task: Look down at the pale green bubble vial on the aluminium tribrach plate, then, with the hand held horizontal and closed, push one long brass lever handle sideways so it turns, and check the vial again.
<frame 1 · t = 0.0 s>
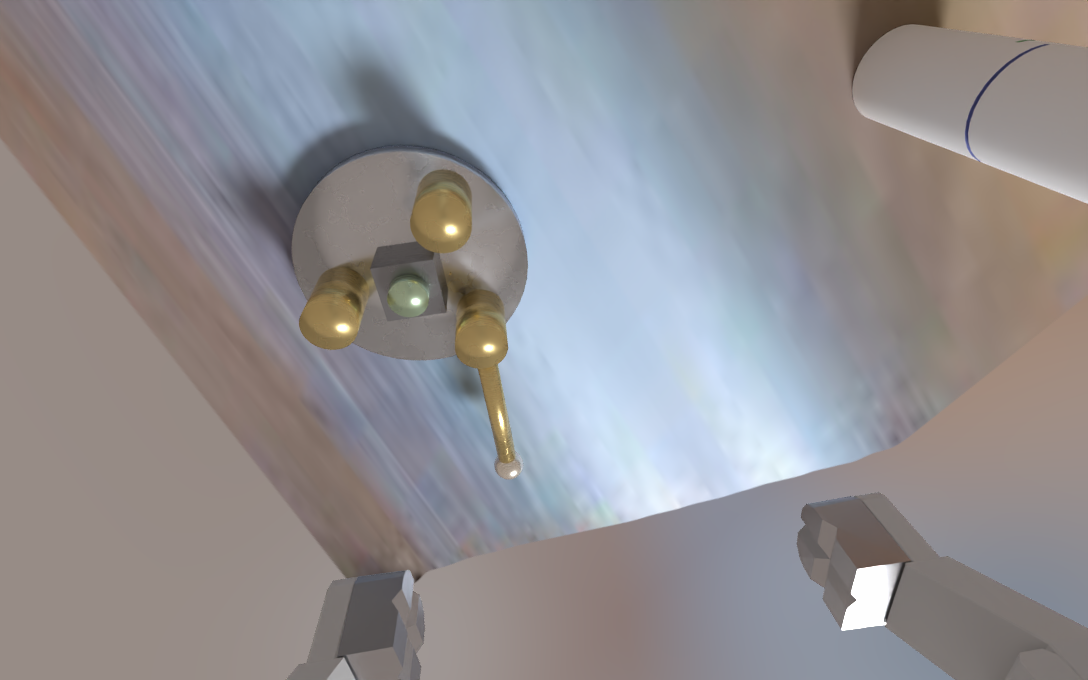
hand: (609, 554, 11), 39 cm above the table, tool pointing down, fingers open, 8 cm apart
cylindrical container: (894, 74, 44), on the table
brass lever handle: (495, 395, 52), point 5 cm above the table, hinge at 0.0°
tribrach: (415, 258, 49), on the table
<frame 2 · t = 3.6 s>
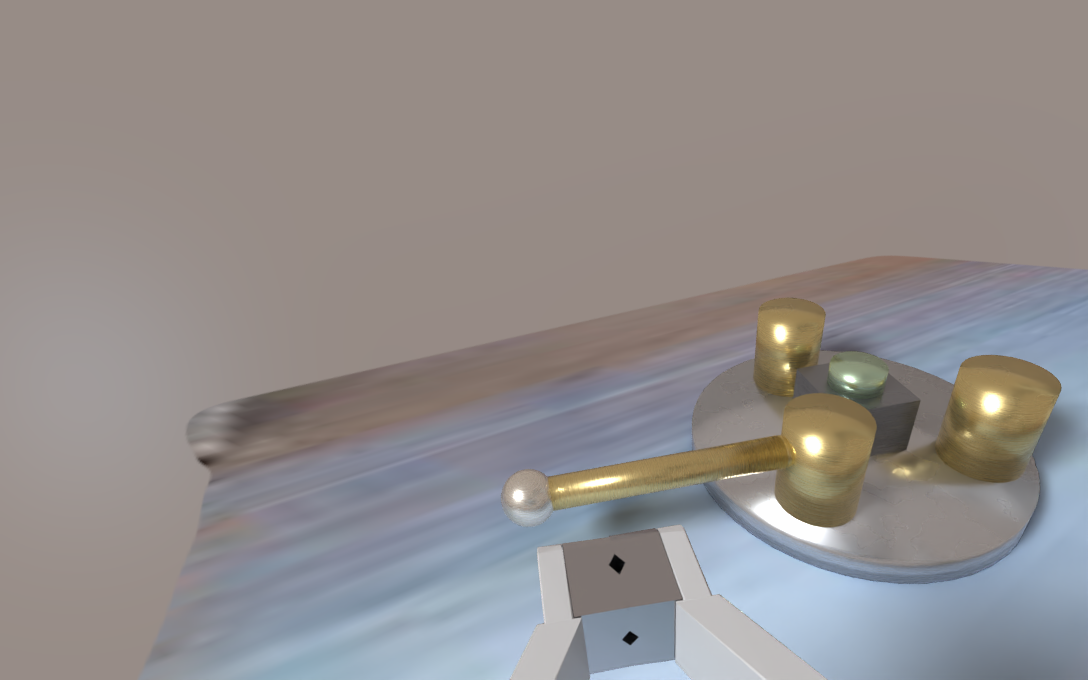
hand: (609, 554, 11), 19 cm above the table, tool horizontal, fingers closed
brass lever handle: (684, 484, 30), point 5 cm above the table, hinge at 0.0°
tribrach: (840, 453, 37), on the table
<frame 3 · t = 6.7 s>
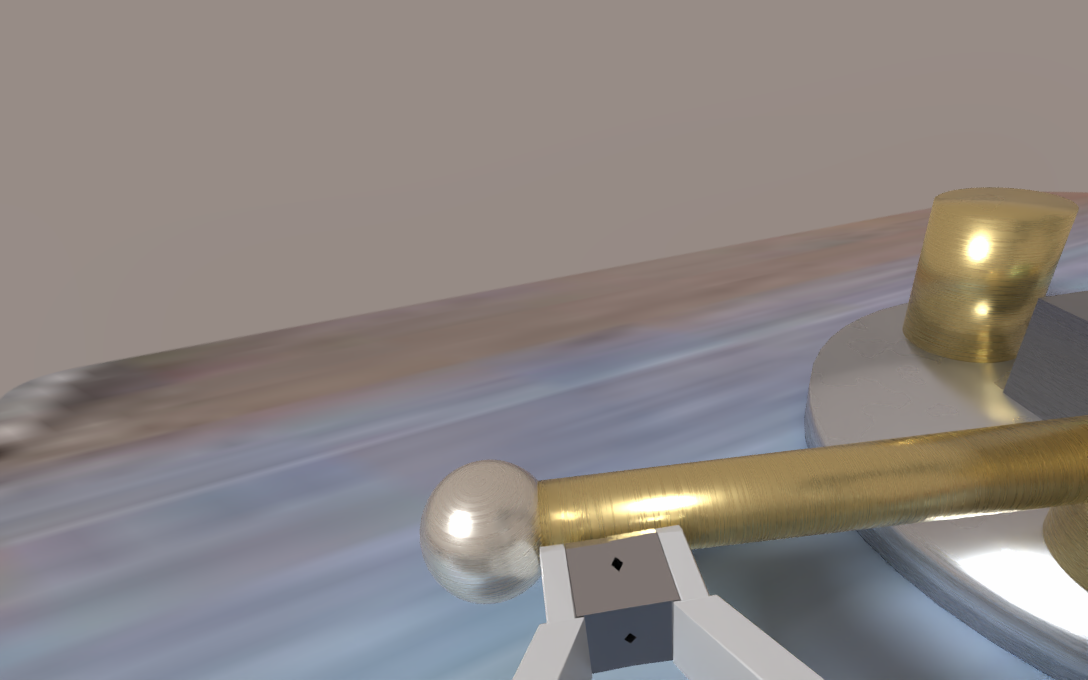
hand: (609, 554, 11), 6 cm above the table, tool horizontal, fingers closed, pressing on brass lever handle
brass lever handle: (867, 520, 12), point 5 cm above the table, hinge at 2.7°, touching gripper
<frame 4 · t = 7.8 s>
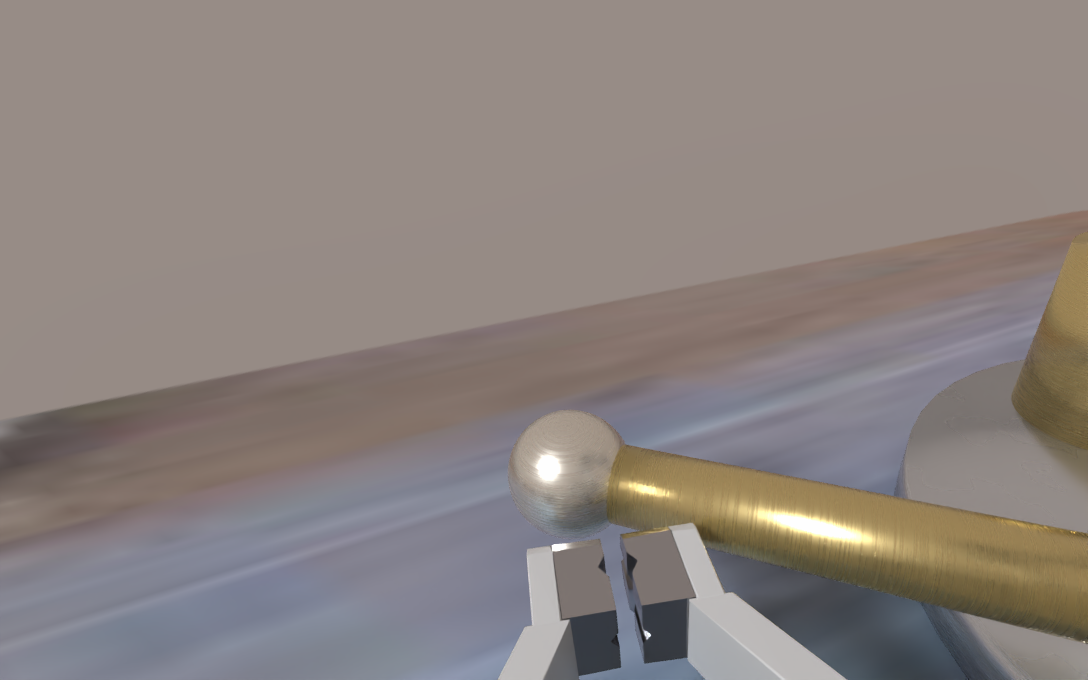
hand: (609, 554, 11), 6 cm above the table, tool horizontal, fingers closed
brass lever handle: (1001, 613, 10), point 5 cm above the table, hinge at 28.8°, touching gripper
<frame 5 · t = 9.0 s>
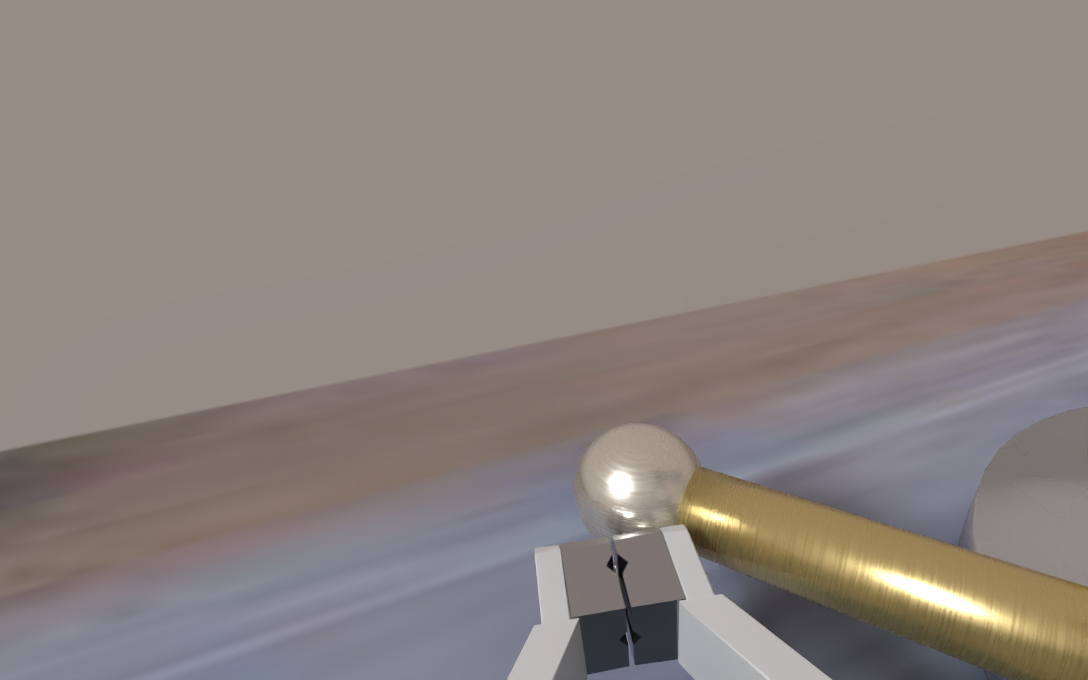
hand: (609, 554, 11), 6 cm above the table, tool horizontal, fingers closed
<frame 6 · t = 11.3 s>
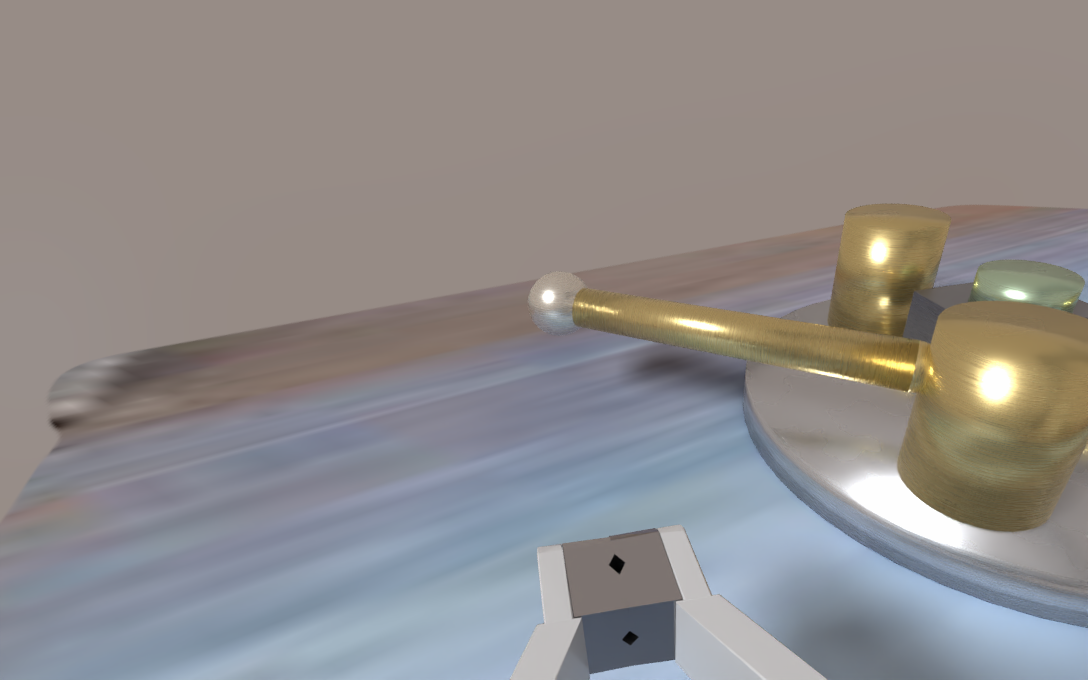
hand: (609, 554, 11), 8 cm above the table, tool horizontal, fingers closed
brass lever handle: (745, 362, 22), point 5 cm above the table, hinge at 38.1°
tribrach: (974, 424, 25), on the table
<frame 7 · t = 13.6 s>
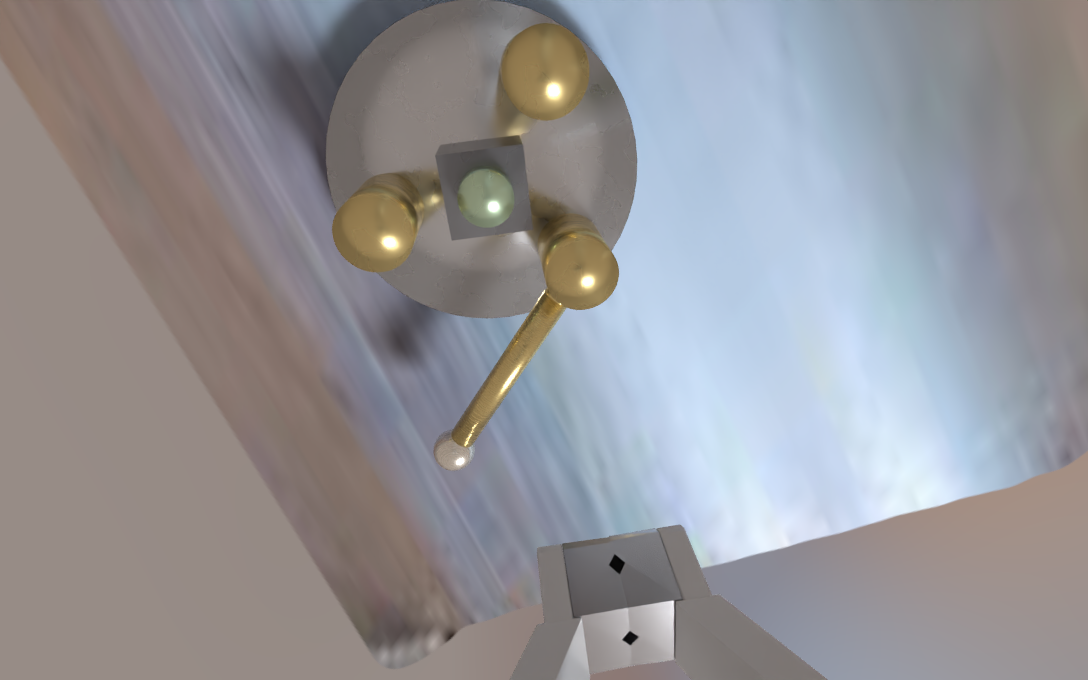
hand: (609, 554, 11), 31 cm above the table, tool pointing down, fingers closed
brass lever handle: (513, 352, 38), point 5 cm above the table, hinge at 38.1°
tribrach: (486, 173, 37), on the table
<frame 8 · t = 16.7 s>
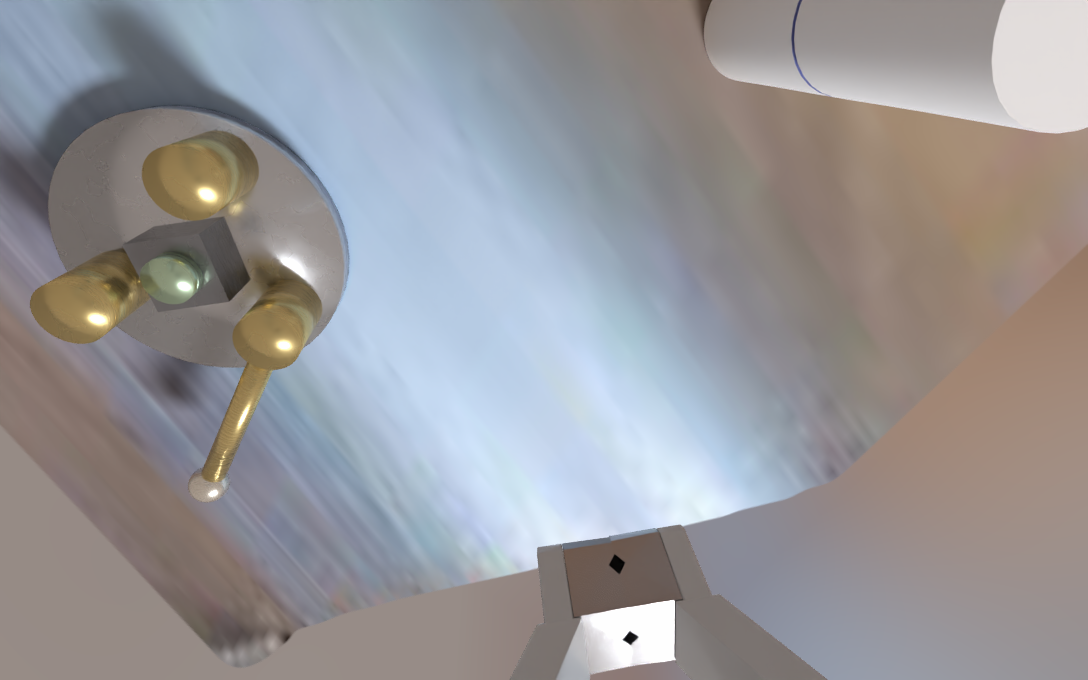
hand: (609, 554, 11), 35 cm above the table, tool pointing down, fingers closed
cylindrical container: (751, 25, 38), on the table
brass lever handle: (247, 400, 43), point 5 cm above the table, hinge at 38.1°
tribrach: (215, 244, 42), on the table
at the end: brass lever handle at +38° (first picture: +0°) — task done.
